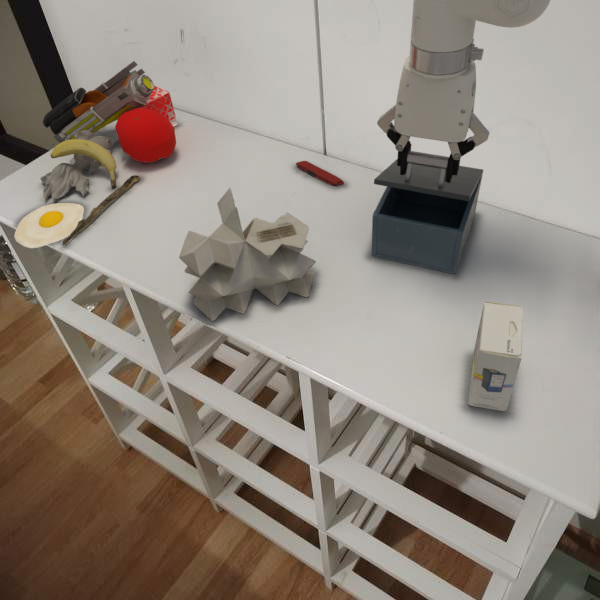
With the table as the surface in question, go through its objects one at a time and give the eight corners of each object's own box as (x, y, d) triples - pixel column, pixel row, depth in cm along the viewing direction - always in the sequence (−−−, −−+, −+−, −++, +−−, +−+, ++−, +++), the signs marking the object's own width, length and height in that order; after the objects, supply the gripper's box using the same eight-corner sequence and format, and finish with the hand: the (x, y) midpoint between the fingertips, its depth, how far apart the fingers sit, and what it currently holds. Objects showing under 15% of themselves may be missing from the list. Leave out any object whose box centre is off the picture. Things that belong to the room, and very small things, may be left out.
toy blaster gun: (115, 69, 109) (128, 42, 115) (36, 130, 121) (51, 103, 127) (151, 106, 114) (162, 78, 120) (72, 160, 127) (86, 133, 133)
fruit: (114, 190, 115) (116, 181, 113) (47, 161, 111) (48, 151, 109) (127, 164, 119) (129, 155, 116) (62, 136, 115) (63, 126, 113)
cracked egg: (76, 242, 104) (74, 236, 103) (8, 251, 104) (5, 245, 103) (87, 199, 113) (84, 194, 112) (24, 207, 113) (21, 201, 112)
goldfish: (78, 198, 109) (35, 165, 106) (62, 224, 116) (21, 194, 113) (130, 147, 123) (94, 116, 120) (113, 173, 129) (78, 145, 127)
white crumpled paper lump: (205, 224, 75) (193, 163, 85) (164, 320, 86) (157, 256, 96) (348, 257, 86) (322, 199, 96) (295, 339, 96) (277, 279, 106)
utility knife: (301, 162, 116) (294, 167, 115) (301, 157, 115) (294, 162, 114) (344, 185, 110) (337, 190, 109) (344, 180, 109) (337, 185, 109)
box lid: (468, 201, 81) (476, 165, 79) (373, 184, 86) (378, 149, 83) (482, 174, 95) (489, 142, 92) (399, 160, 99) (404, 129, 97)
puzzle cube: (118, 96, 124) (140, 107, 120) (147, 81, 128) (169, 92, 124) (129, 129, 130) (150, 140, 126) (156, 114, 134) (177, 124, 130)
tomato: (96, 129, 113) (117, 168, 121) (149, 137, 109) (167, 177, 117) (125, 95, 119) (144, 134, 127) (177, 101, 114) (192, 142, 123)
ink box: (505, 413, 75) (525, 359, 66) (465, 405, 76) (479, 351, 67) (508, 361, 80) (526, 304, 71) (470, 354, 81) (484, 298, 72)
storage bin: (455, 274, 92) (462, 233, 85) (371, 256, 96) (372, 215, 90) (474, 215, 101) (482, 174, 95) (397, 200, 106) (399, 160, 99)
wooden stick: (60, 246, 104) (56, 238, 102) (136, 176, 117) (133, 168, 116) (67, 248, 103) (62, 240, 102) (142, 178, 116) (139, 170, 115)
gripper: (515, 48, 72) (490, 168, 85) (382, 35, 77) (378, 151, 90) (506, 75, 67) (481, 198, 80) (365, 60, 72) (363, 178, 86)
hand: (427, 172), depth 85 cm, fingers closed on box lid, 6 cm apart
